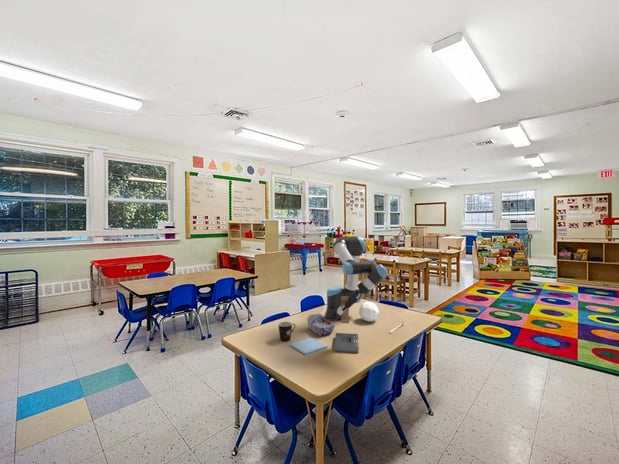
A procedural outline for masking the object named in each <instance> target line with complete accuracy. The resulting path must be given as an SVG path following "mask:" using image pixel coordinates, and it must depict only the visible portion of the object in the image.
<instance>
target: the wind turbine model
mask: <svg viewBox="0 0 619 464" xmlns="http://www.w3.org/2000/svg"><path fill="white" fill-rule="evenodd" d="M402 324H403V325H404V324H405V323H404V321H402V322H401V324H399V325H397V326H396V327H395V328H392V329H391V330H390V331H389V332H388V333H389V334H392V333H394V332H396V330H397V329H399V328H400V327H401V326H403V325H402Z"/></svg>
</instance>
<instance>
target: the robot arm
mask: <svg viewBox="0 0 619 464" xmlns="http://www.w3.org/2000/svg"><path fill="white" fill-rule="evenodd" d="M332 245H333V246H332V249H333V251H334V253H335V254H336V255H337V256H338V258H339V259H340V261H341V264H342V272H343V273H342V274H344V275H346V284H345V285H344V288H342V286H332V287H329V288H328V289H327V291H326V310H325V313H324V319H325V320H329V321H341V314H342V313H343V312H344V311H345V310H346V309H348V308H349V309H350V308H351V307H352V306H353V305H354V304H359V303H360V302H361V301H362V297H363V296H362V295H363V294H364V295H365V296H366V295H368V294H369V293H370V291H372V290H373V289H375V288H376V286H377V285H378V284H379V283H381V282H382V280H384V279H385V278H386V276H387V275H388V274H389V271H388V269H386V268H385V266H383V265H382V264H381V263H380V264H377V262H376V261H375V260H373V259H366V260H365V261H360V258H361V256H362V255H363V253H364V252H365V251H366V242H365V239H364V238H363V237H362V236H356V235H355V236H354V235H353V236H340V237H338V238H337V239H335V241H334V243H333V244H332ZM359 275H366V276H365V277H364V278H363V279H362V281H361V282H359ZM341 296H345V297H348V298H349V301H348V302H347V303H346V304H344V306H343V307H342V308H341Z"/></svg>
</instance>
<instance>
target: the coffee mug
mask: <svg viewBox="0 0 619 464" xmlns="http://www.w3.org/2000/svg"><path fill="white" fill-rule="evenodd" d="M277 326H278V331H279V340H280V341H281V342H289V341H291V336H292V332H293V331H294V330H295V328H296V324H295V323H292V322H291V321H280V322H279V323H278V325H277ZM293 326H294V327H293ZM292 327H293V329H292Z"/></svg>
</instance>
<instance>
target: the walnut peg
mask: <svg viewBox="0 0 619 464" xmlns="http://www.w3.org/2000/svg"><path fill="white" fill-rule="evenodd" d="M348 301H349V298H348V297H345V296H341V308H342V307H343V306H344V304H346V303H347V302H348ZM349 309H350V308H348V309H346V310H345V311H344V312H343V313H342V314H341V320H340V321H341V324H349V323H350V321H349V320H350V319H349V314H350V313H349V311H350V310H349Z"/></svg>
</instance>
